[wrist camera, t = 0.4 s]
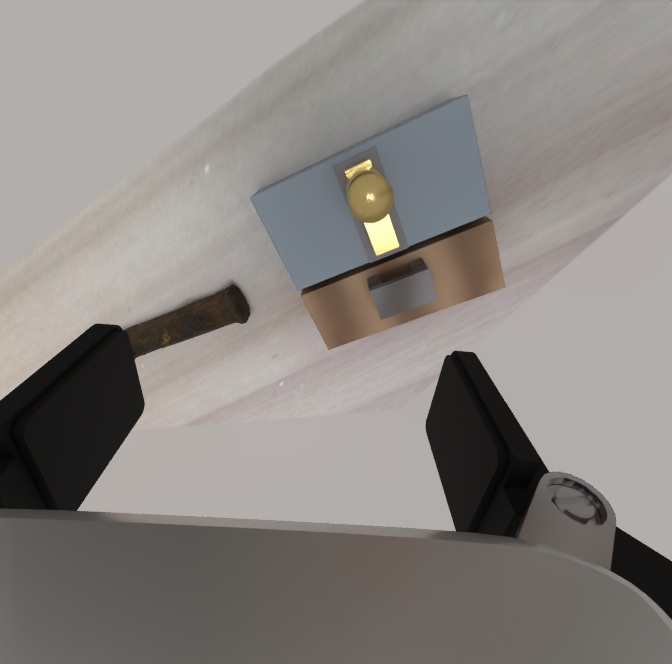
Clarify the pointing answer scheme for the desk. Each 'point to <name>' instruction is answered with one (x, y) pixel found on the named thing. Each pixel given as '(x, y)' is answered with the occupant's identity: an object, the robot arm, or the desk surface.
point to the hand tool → (190, 321)
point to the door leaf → (407, 184)
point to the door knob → (371, 204)
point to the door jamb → (407, 284)
